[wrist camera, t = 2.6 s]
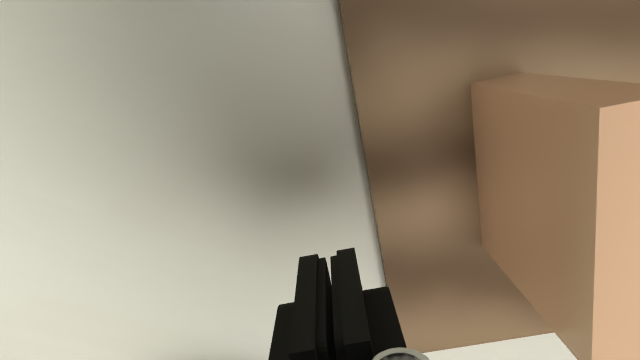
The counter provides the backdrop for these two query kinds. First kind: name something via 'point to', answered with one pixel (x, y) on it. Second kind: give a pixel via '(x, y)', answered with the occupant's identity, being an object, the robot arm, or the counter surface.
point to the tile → (565, 202)
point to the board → (459, 141)
